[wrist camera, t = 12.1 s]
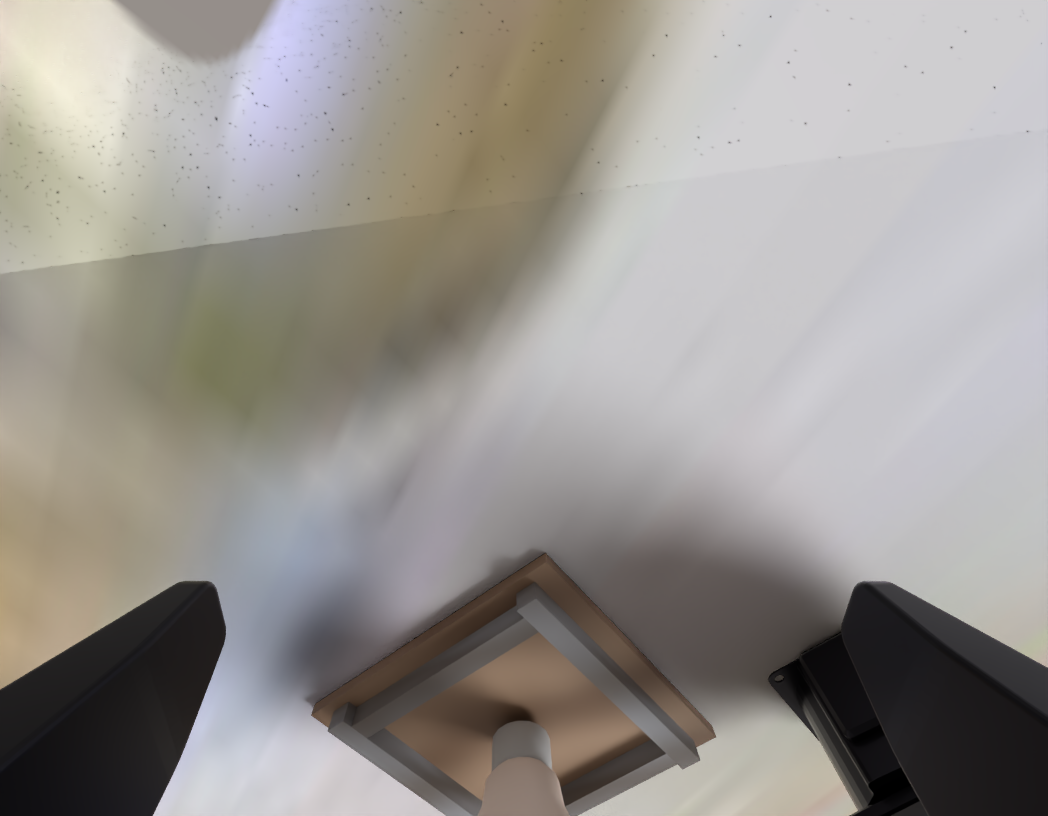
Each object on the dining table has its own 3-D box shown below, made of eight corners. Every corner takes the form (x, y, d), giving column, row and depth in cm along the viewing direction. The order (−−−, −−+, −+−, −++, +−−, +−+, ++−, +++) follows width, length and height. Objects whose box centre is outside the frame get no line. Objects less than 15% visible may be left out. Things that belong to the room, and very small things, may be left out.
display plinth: (711, 725, 28) (723, 756, 26) (499, 837, 31) (498, 870, 30) (545, 552, 23) (548, 578, 22) (315, 703, 27) (304, 735, 25)
